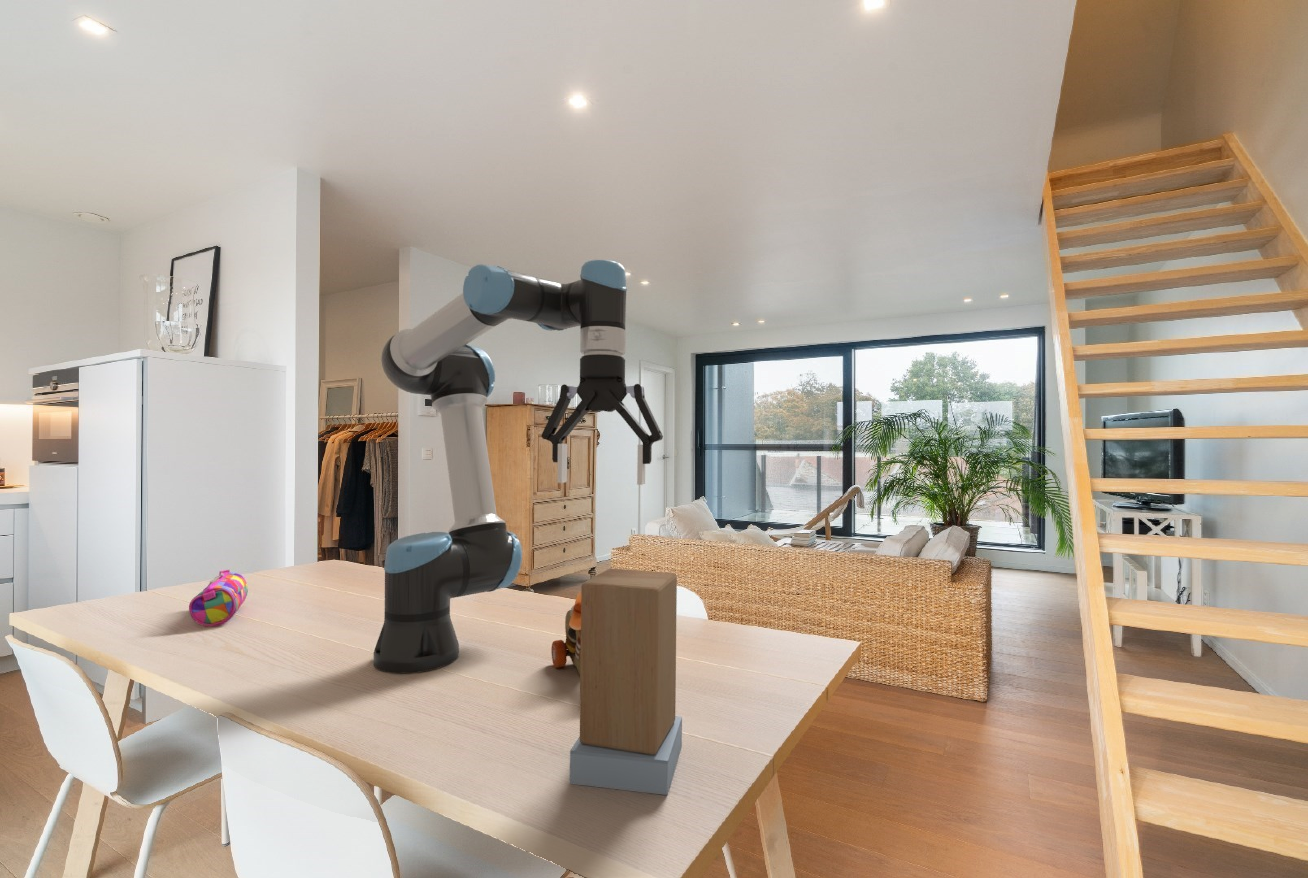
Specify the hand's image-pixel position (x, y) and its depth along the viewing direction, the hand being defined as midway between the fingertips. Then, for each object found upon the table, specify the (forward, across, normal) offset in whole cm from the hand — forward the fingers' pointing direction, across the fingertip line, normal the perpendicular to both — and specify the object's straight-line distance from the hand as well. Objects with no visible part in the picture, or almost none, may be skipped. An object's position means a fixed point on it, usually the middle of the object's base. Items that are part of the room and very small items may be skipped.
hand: (601, 483), depth 102 cm
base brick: (+35, +10, -21) cm, 42 cm away
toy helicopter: (+35, -5, +7) cm, 36 cm away
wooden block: (+31, +10, -21) cm, 39 cm away
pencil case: (+35, -99, +25) cm, 108 cm away
